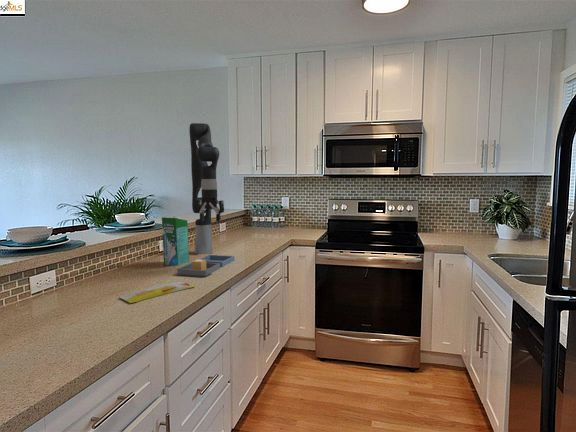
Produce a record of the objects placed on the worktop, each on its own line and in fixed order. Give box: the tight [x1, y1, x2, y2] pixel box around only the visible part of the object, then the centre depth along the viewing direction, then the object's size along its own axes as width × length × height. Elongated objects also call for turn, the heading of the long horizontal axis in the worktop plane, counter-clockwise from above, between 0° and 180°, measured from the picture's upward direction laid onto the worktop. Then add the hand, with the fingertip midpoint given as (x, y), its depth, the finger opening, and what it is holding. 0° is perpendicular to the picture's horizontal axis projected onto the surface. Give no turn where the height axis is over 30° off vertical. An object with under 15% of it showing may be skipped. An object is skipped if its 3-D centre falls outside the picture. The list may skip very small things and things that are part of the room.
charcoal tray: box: [176, 262, 221, 278], centre depth 176 cm, size 15×15×3 cm
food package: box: [118, 281, 196, 304], centre depth 146 cm, size 27×2×10 cm
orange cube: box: [190, 258, 206, 270], centre depth 176 cm, size 5×5×5 cm
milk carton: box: [161, 216, 190, 267], centre depth 192 cm, size 9×9×25 cm
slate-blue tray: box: [200, 254, 235, 268], centre depth 193 cm, size 15×15×3 cm
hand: (210, 221), depth 183 cm, fingers open, 8 cm apart
